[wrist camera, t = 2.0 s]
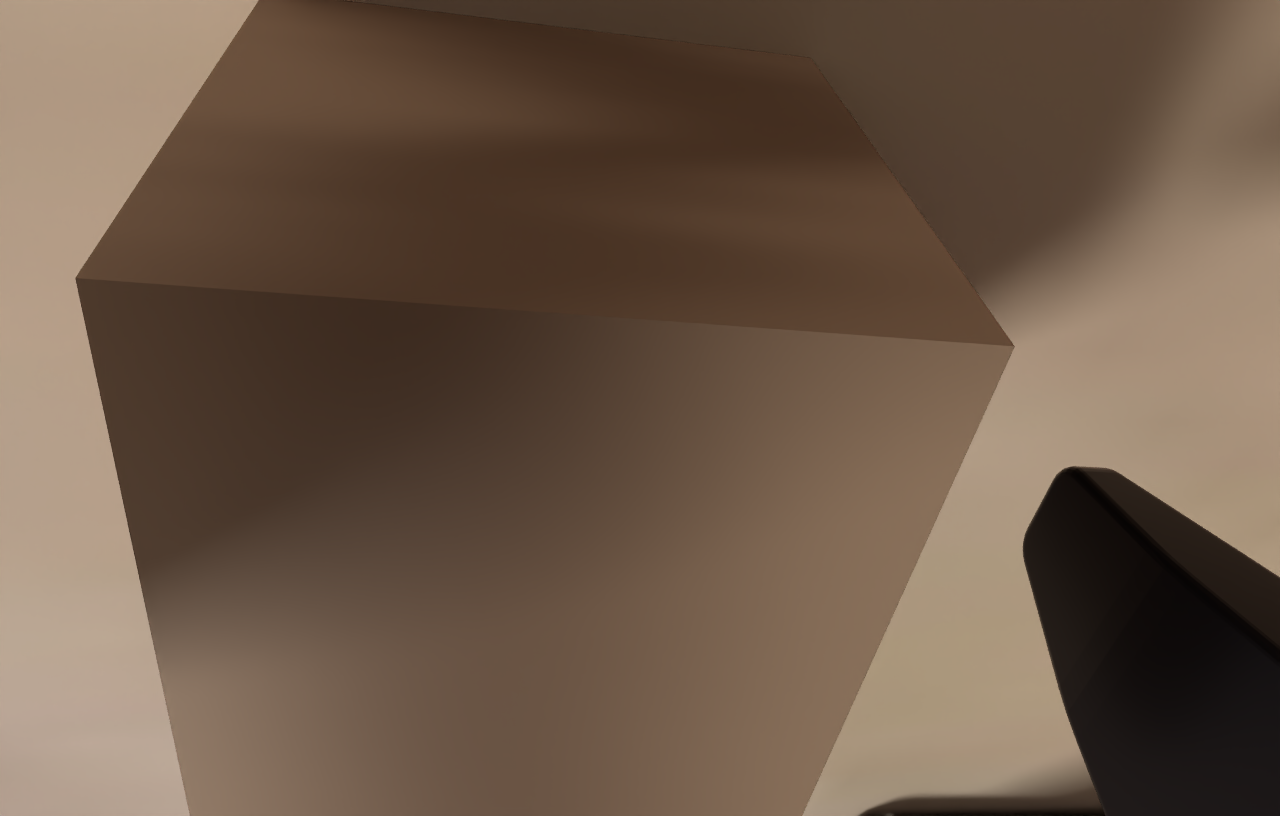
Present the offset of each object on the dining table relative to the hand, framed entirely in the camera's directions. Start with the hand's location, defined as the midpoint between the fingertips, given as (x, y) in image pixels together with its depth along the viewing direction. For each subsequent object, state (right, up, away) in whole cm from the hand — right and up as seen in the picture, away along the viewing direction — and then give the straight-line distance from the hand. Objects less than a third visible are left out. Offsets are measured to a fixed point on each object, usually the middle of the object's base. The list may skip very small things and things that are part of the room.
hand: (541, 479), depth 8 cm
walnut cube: (0, +2, +3) cm, 3 cm away
